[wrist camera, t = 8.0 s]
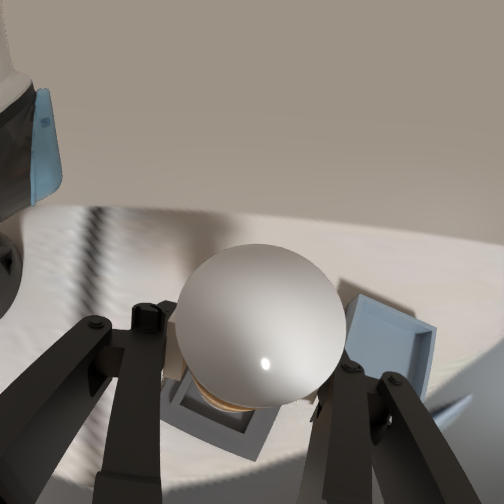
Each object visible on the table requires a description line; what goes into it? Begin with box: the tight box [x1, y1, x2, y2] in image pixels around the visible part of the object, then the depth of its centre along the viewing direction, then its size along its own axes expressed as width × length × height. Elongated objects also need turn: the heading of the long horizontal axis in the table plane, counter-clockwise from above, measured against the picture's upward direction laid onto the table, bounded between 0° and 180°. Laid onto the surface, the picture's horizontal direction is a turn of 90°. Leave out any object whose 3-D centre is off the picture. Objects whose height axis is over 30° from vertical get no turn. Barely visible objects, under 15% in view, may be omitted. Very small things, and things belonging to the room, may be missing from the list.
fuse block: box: [160, 365, 281, 462], centre depth 29 cm, size 12×12×2 cm
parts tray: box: [344, 294, 437, 418], centre depth 32 cm, size 12×12×4 cm
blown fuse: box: [175, 244, 346, 413], centre depth 13 cm, size 5×5×12 cm
